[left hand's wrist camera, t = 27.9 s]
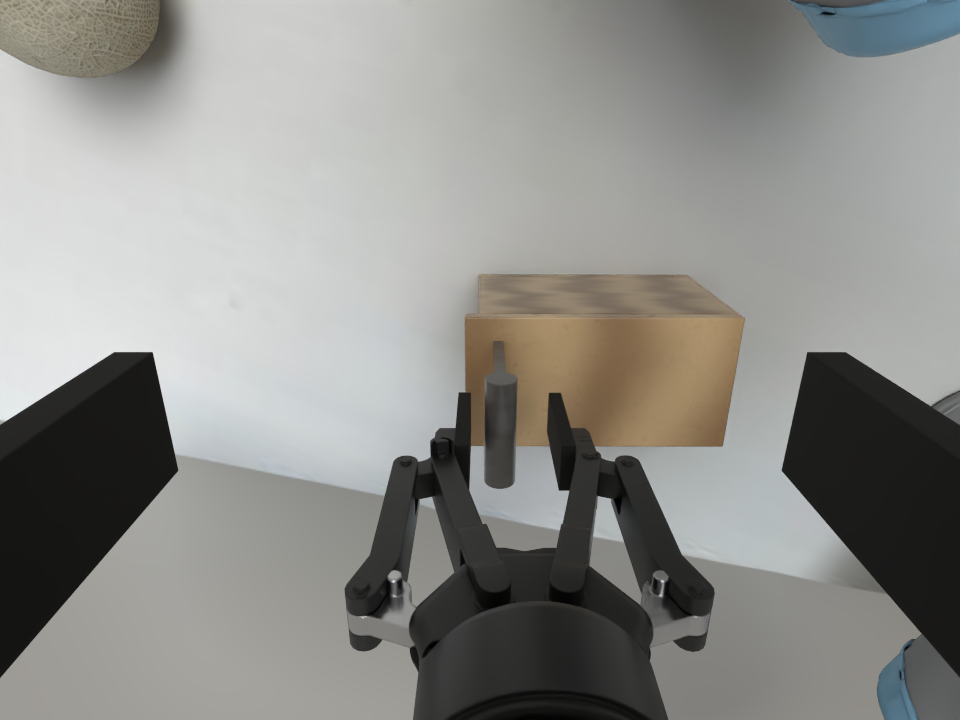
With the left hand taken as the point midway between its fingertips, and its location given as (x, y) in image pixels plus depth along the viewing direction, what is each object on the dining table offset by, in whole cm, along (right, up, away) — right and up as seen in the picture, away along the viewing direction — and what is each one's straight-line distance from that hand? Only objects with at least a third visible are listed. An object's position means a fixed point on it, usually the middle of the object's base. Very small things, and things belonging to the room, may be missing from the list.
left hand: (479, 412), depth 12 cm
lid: (+8, 0, +29) cm, 31 cm away
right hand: (+2, -2, +25) cm, 25 cm away
